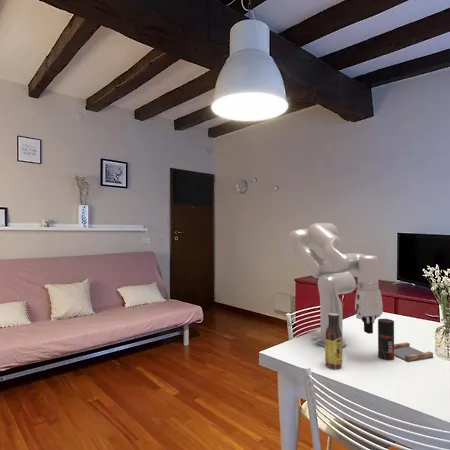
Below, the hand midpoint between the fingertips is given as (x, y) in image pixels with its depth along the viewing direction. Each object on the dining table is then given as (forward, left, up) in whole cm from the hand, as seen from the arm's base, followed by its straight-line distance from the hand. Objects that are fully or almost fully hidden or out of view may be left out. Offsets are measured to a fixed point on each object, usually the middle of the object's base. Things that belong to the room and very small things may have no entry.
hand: (368, 332), depth 137 cm
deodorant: (+9, 0, -11) cm, 14 cm away
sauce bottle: (-16, 0, -11) cm, 20 cm away
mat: (+20, 0, -11) cm, 23 cm away
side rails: (+20, 0, -11) cm, 23 cm away
